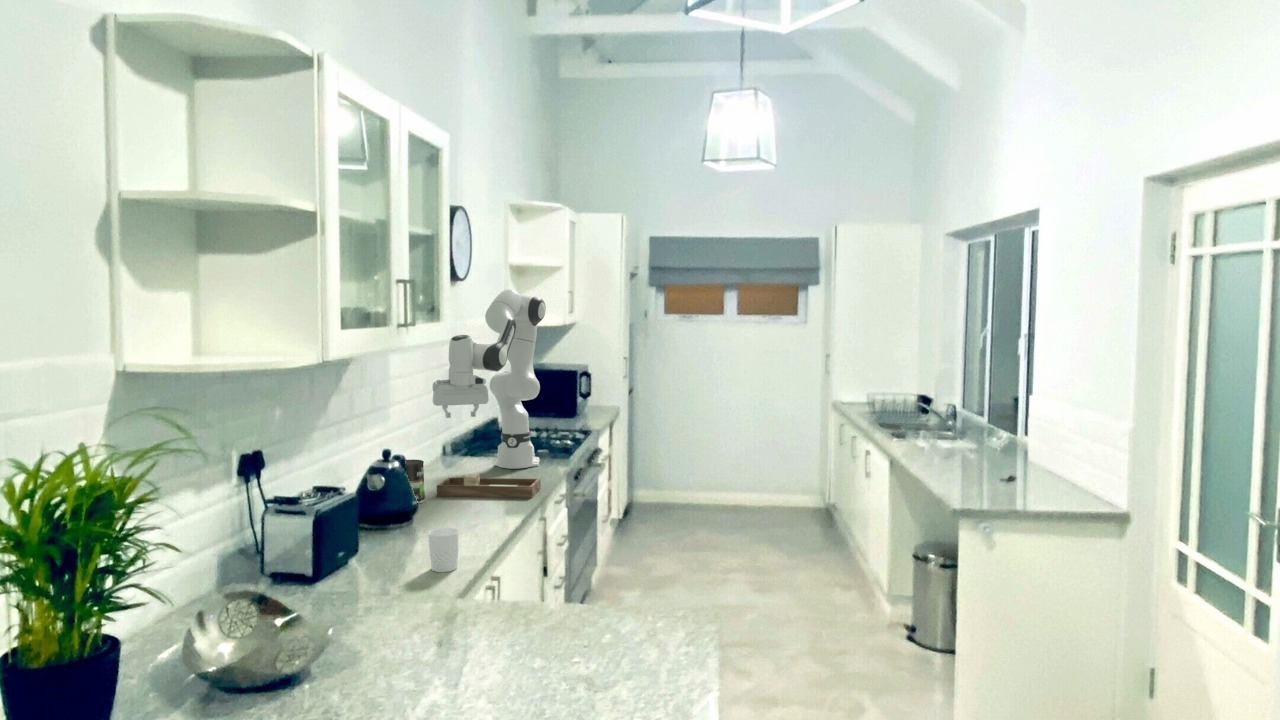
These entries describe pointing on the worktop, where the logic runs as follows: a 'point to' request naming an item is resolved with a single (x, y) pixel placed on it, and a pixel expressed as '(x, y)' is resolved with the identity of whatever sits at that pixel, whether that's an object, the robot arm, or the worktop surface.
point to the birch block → (472, 480)
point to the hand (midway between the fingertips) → (460, 417)
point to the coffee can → (416, 478)
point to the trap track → (490, 488)
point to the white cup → (443, 549)
